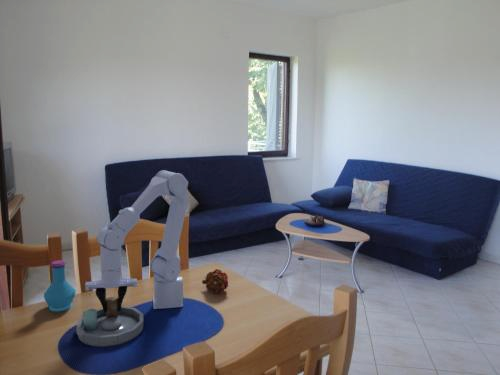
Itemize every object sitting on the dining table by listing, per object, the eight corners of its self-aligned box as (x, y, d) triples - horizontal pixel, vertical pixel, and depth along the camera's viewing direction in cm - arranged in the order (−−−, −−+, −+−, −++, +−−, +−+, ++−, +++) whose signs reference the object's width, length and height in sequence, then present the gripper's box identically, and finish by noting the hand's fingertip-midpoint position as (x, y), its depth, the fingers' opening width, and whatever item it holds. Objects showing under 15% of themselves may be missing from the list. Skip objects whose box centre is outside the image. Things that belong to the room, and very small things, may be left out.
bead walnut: (119, 311, 125) (118, 296, 124) (118, 317, 121) (118, 301, 121) (106, 312, 124) (106, 297, 123) (105, 318, 121) (105, 302, 120)
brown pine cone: (219, 303, 140) (209, 293, 151) (237, 286, 142) (226, 278, 153) (205, 285, 138) (196, 277, 149) (223, 268, 140) (213, 261, 151)
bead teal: (98, 324, 118) (97, 308, 117) (96, 330, 115) (95, 314, 114) (84, 325, 117) (84, 309, 117) (82, 331, 114) (82, 315, 113)
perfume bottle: (64, 314, 125) (61, 268, 123) (37, 311, 127) (35, 265, 125) (82, 301, 134) (80, 258, 132) (57, 298, 136) (55, 256, 134)
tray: (143, 312, 128) (143, 303, 128) (143, 342, 111) (142, 333, 111) (82, 317, 124) (82, 308, 124) (72, 350, 107) (72, 340, 106)
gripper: (136, 261, 126) (137, 302, 128) (87, 264, 122) (88, 306, 124) (136, 269, 119) (137, 312, 121) (83, 272, 115) (85, 317, 118)
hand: (112, 310), depth 122 cm, fingers closed on bead walnut, 3 cm apart
